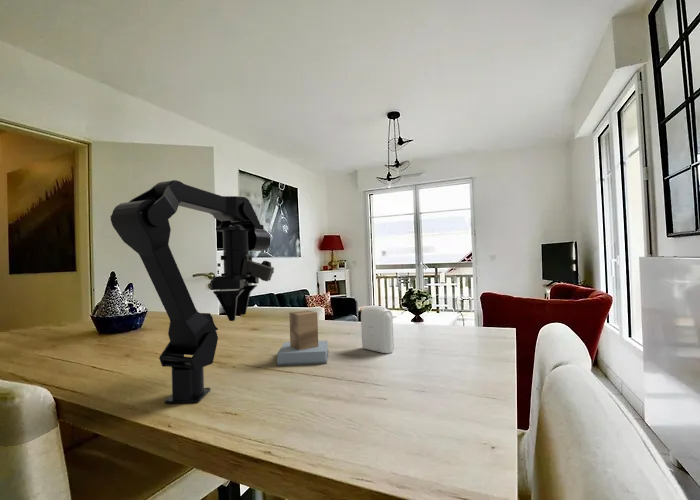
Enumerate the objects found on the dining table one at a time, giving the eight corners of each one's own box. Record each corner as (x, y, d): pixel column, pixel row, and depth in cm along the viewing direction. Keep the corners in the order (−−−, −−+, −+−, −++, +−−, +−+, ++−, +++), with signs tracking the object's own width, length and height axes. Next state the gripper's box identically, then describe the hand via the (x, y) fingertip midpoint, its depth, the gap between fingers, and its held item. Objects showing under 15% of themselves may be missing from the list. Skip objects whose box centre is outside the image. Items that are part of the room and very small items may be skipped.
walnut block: (318, 346, 96) (317, 312, 96) (299, 350, 93) (298, 314, 93) (308, 343, 100) (307, 310, 101) (290, 346, 97) (289, 312, 98)
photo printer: (359, 348, 105) (358, 305, 105) (370, 345, 107) (369, 303, 108) (385, 355, 97) (383, 308, 97) (396, 352, 99) (394, 306, 100)
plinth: (326, 363, 91) (326, 351, 91) (276, 365, 90) (276, 353, 90) (328, 350, 103) (328, 340, 103) (284, 352, 103) (284, 342, 103)
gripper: (261, 248, 77) (264, 323, 76) (277, 250, 95) (279, 310, 95) (208, 250, 76) (210, 325, 76) (234, 252, 95) (236, 312, 95)
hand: (238, 317), depth 86 cm, fingers open, 9 cm apart
